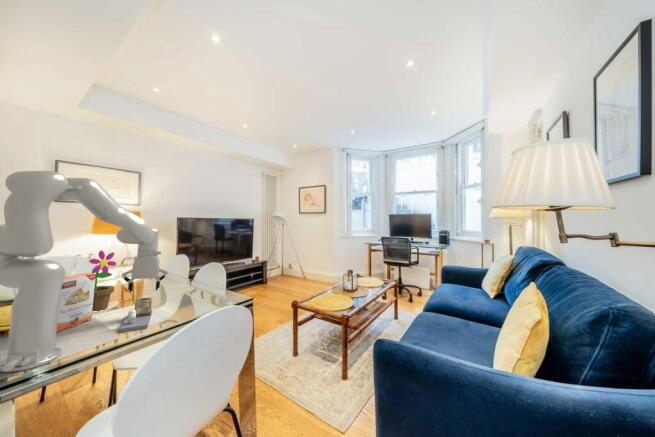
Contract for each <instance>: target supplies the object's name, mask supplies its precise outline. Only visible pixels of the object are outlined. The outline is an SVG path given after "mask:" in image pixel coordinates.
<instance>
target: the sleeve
mask: <svg viewBox="0 0 655 437" xmlns="http://www.w3.org/2000/svg"><path fill="white" fill-rule="evenodd" d="M152 309H153V296H146V297H138V298H137V297H136V299H135V301H134V310H135V311H136V317H143V316H150V315H151V312H152V313H153V310H152ZM151 316H152V315H151Z"/></svg>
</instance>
